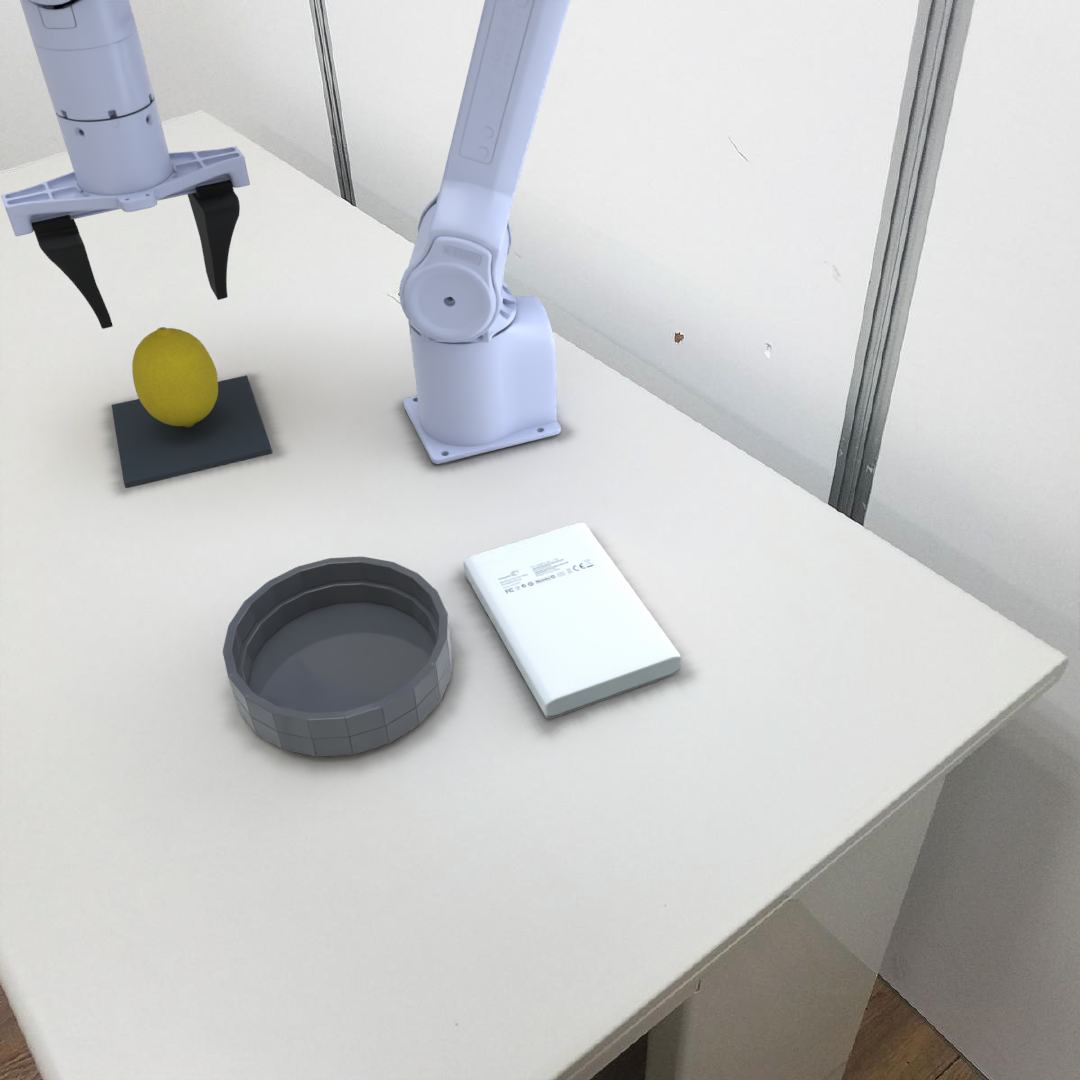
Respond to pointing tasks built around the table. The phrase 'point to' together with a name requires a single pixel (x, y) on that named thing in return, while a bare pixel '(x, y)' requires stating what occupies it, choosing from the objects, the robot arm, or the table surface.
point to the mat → (190, 436)
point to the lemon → (175, 377)
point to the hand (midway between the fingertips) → (163, 306)
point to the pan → (339, 655)
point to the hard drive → (570, 619)
